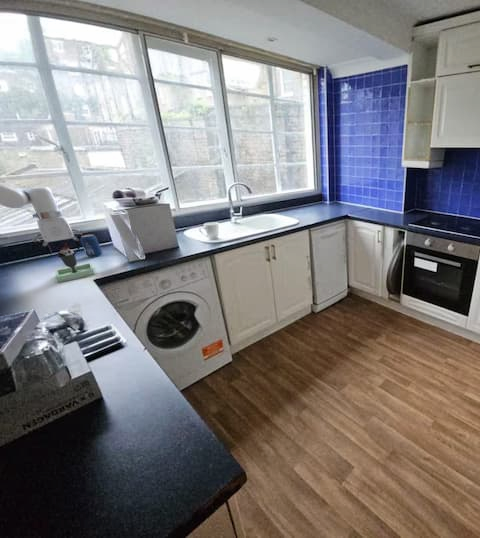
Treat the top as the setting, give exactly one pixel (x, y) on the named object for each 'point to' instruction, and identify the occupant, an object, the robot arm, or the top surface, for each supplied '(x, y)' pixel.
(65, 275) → the tray
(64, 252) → the sundae
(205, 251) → the top surface
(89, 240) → the soda can
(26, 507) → the top surface
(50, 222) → the robot arm
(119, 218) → the skyscraper
